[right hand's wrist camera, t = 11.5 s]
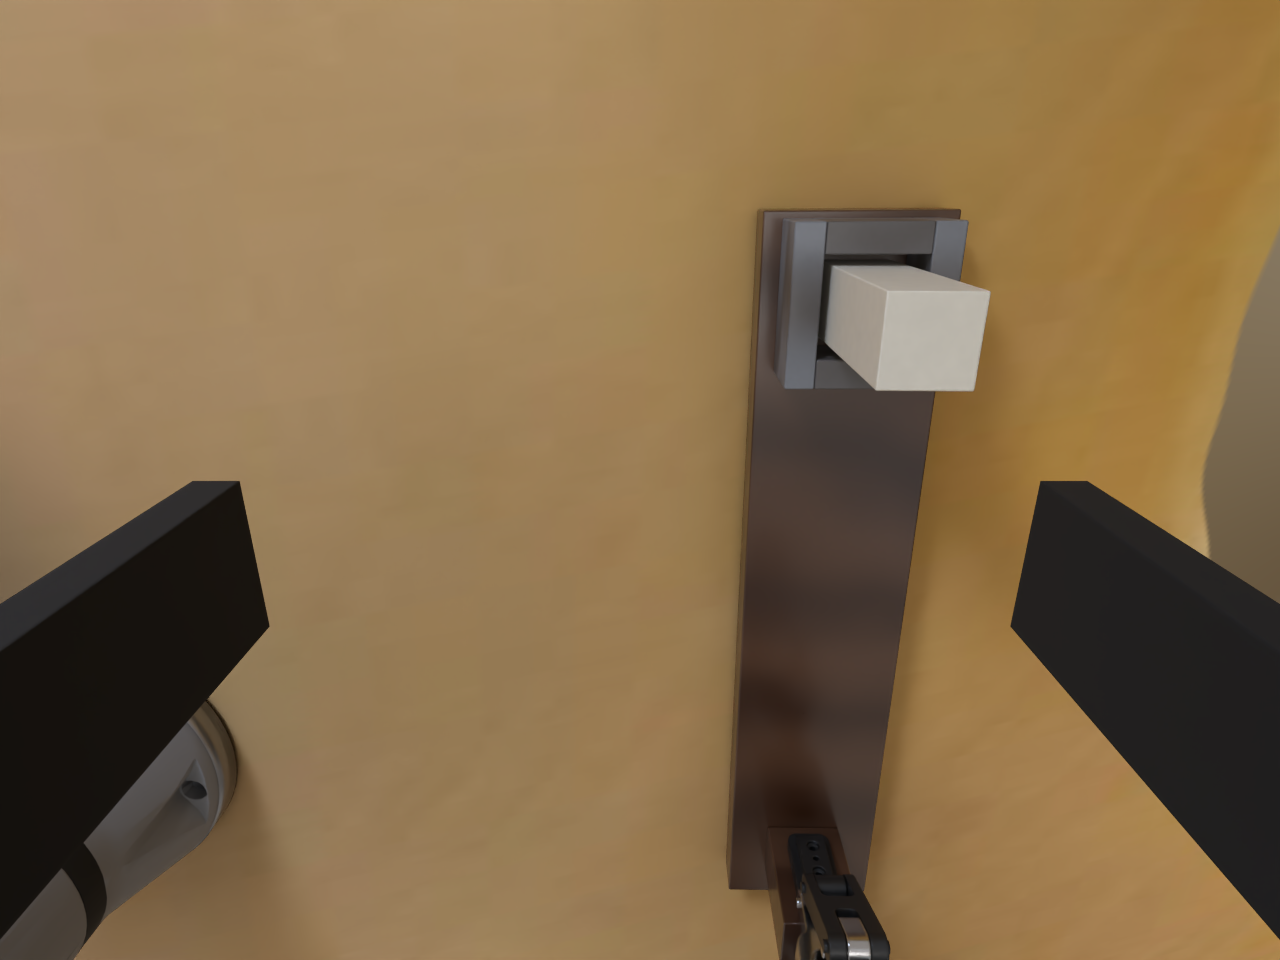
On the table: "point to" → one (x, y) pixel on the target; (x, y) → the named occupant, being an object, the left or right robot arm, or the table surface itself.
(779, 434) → the peg board
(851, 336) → the peg
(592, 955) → the table surface
